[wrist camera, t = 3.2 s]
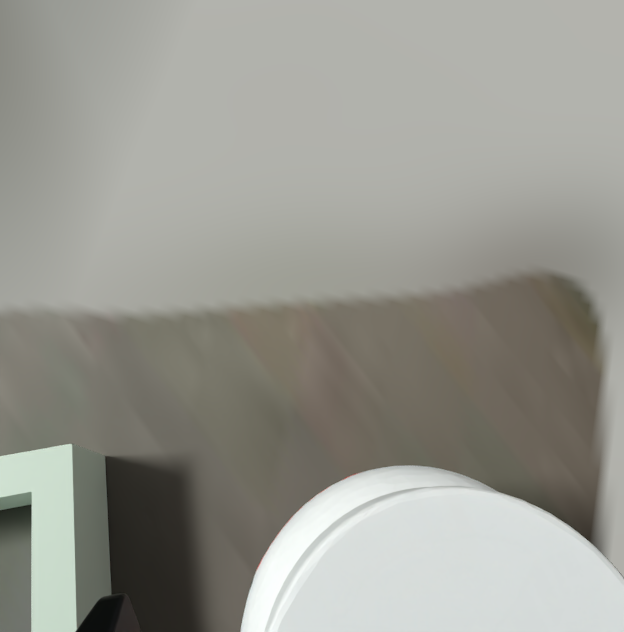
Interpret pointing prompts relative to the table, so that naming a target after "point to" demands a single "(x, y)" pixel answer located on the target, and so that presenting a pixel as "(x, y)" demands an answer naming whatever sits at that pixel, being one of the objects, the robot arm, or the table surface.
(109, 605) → the robot arm
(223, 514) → the table surface
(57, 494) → the bottle holder
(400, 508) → the pill bottle
